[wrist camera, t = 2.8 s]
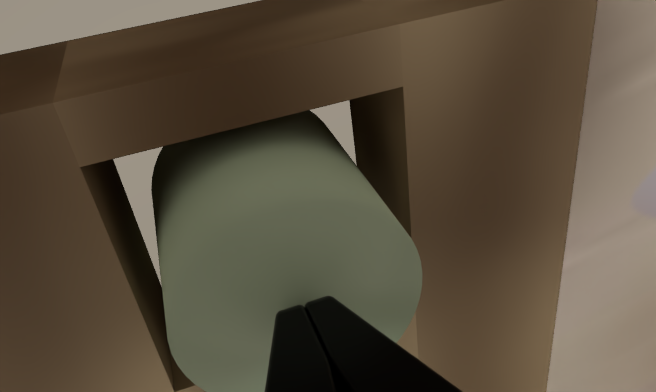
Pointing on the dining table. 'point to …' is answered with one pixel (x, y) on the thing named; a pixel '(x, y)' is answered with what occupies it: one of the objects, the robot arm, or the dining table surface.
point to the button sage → (270, 245)
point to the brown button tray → (281, 100)
